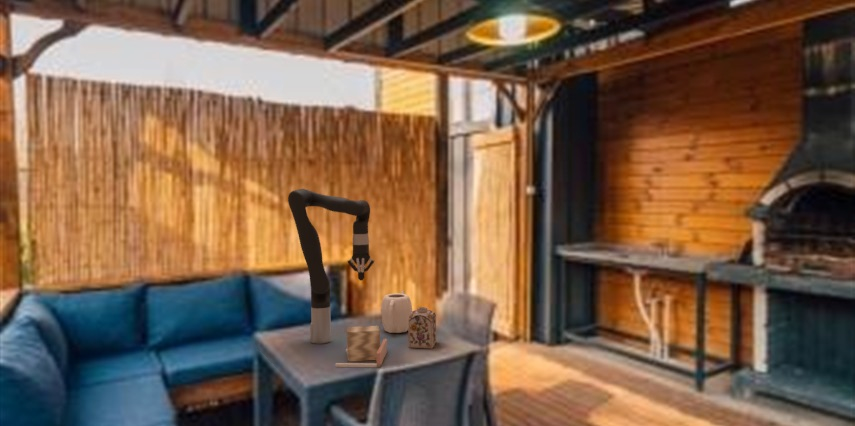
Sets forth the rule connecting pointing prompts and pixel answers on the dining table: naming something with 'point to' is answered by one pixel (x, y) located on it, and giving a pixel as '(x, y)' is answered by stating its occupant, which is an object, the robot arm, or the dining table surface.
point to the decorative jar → (422, 328)
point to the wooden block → (362, 343)
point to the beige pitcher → (396, 312)
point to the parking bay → (379, 356)
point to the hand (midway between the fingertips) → (361, 280)
